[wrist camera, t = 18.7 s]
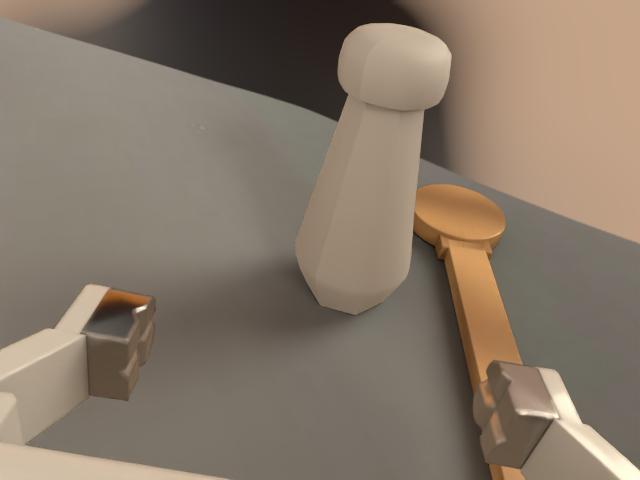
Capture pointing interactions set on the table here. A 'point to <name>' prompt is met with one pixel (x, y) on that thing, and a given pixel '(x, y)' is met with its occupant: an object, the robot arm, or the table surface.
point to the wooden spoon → (470, 277)
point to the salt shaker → (371, 167)
